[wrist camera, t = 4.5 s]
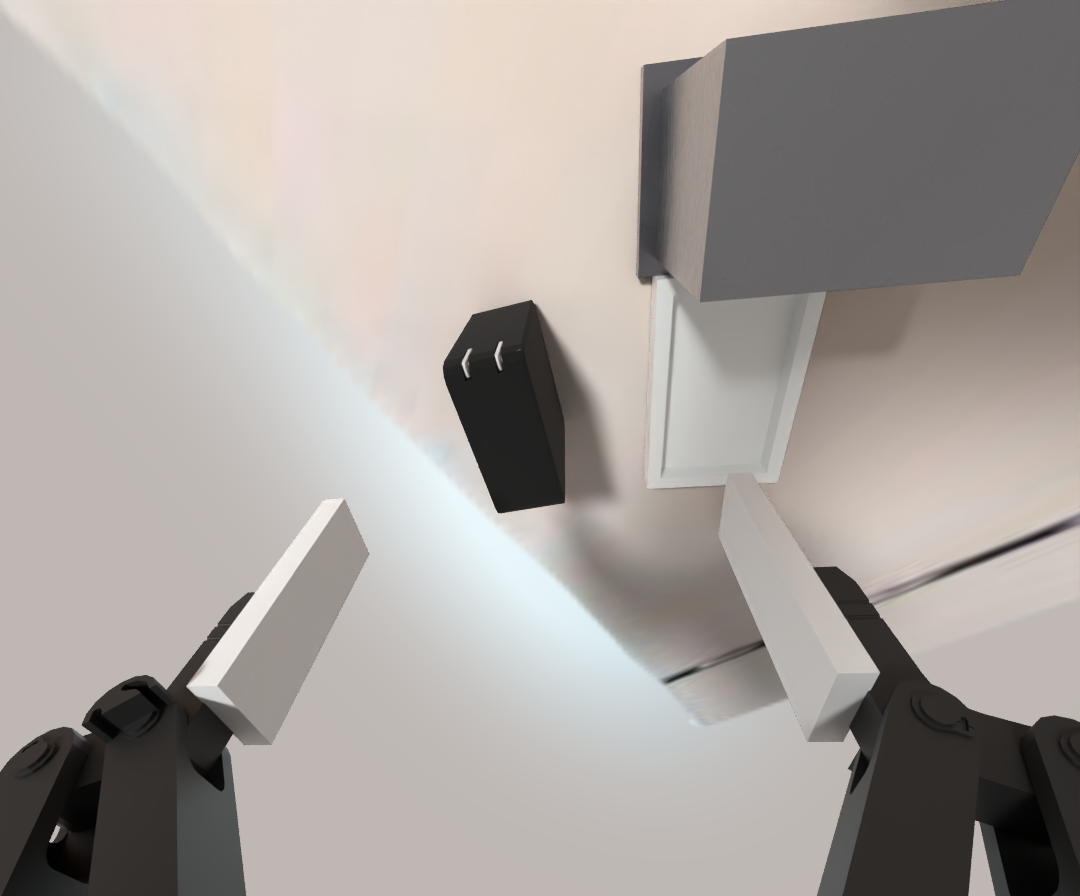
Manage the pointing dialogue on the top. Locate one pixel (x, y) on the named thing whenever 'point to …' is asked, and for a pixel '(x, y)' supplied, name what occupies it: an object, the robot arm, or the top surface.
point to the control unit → (859, 151)
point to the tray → (723, 383)
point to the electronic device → (509, 407)
